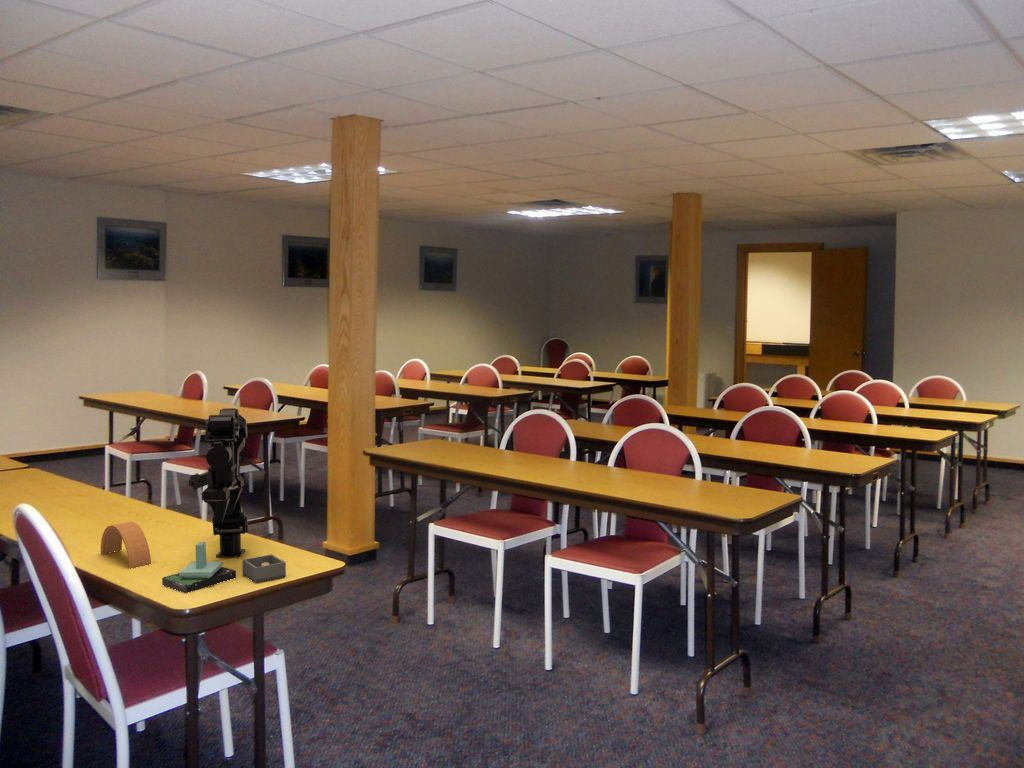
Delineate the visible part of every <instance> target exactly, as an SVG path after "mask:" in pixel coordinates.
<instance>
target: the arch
mask: <svg viewBox="0 0 1024 768" xmlns="http://www.w3.org/2000/svg"><path fill="white" fill-rule="evenodd" d="M146 537H147V536H146V535H145V533H144V531H143V529H142V528H141V526H140V525H139V524H138V523H136V522H134V521H127V522H123V523H117V524H111V525H108V526H106V528H105V529H104V531H103V533H102V536H101V539H100V540H101V541H100V554H101V553H102V554H103V555H105V554H104V553H108V554H110V553H109V552H113V553H115V552H114V551H118V552H120V551H119V550H122V551H123V545H122V544H124V546H125V550H126V554H127V559H128V569H129V568H130V569H129V570H131V568H133V569H136V567H138V568H141V567H140V566H142V567H145V565H147V566H150V565H149V564H151V565H152V560H151V553H150V548H149V543H148V540H147V538H146ZM102 554H101V555H102Z"/></svg>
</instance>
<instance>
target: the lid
mask: <svg viewBox="0 0 1024 768" xmlns="http://www.w3.org/2000/svg"><path fill="white" fill-rule="evenodd" d="M206 543H207V542H206V541H199V542H198V543H196V544H195V545H194V547H195V549H194V550H195V561H191V562H190V563H188V564H187V565H186V566H185V567H184V568H182V570H180V571H179V572H178V573H179V577H180V576H184V578H210V577H211V576H212V575H213V574H214V573H216V572H217V571H218V570H219V569H220V568H221V567H224V562H223V561H207V544H206Z"/></svg>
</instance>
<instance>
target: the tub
mask: <svg viewBox="0 0 1024 768" xmlns="http://www.w3.org/2000/svg"><path fill="white" fill-rule="evenodd" d="M241 560H242V575H243V576H244V577H245V578H247V579H248V578H249V579H248V580H250V581H251V580H252V581H251V582H253V583H254V582H255V584H260V582H261V583H265V581H266V582H271V581H275V579H276V580H280V579H285V577H286V578H287V573H286V572H287V571H286V570H287V566H286V561H284V560H283V559H281V558H279V557H277V556H276V555H274V554H267V555H260V556H256V557H255V556H254V557H250V558H244V559H241ZM270 580H271V581H270Z"/></svg>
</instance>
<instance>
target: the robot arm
mask: <svg viewBox="0 0 1024 768" xmlns="http://www.w3.org/2000/svg"><path fill="white" fill-rule="evenodd" d="M247 426H248V425H247V420H246V418H244V417H243V416H242V415H241V414H240V411H239V409H238V408H236V407H235V408H221V409H219V413H218V414H210V415H208V418H207V419H205V428H204V430H205V433H204V443H205V444H209V443H210V448H209V449H208V451H207V453H206V455H205V460H206V463H207V464H208V466H209V467H208V469H207V471H205V472H203V473H200V474H199V473H198V472H197V473H194V474H192V475H190V476H189V479H188V486H189V487H191V488H192V491H197V490H198V489H200V488H203V487H206V486H207V488H205V489H204V490H203V491H202V492H201V501H203V502H204V503H205V504H206V503H207V504H208V505H209V506H210V507H211V510H212V531H213V533H212V534H213V536H219V552H218V553H217V554H215V557H216V558H238V557H241V556H242V554H243V553H244V552H245V551H246V549H245V548H242V541H241V540H242V534H243V535H246V533H248V532H249V523H248V517H247V515H246V514H245V512H243V511H244V509H243V506H242V504H241V502H240V500H239V498H240V494H241V493H242V491H243V487H244V486H245V478H244V477H243V476H241V475H239V463H240V461H239V460H240V453H241V452H242V450H243V449H244V448H245V446H246V445H245V444H246V439H248V427H247Z"/></svg>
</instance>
